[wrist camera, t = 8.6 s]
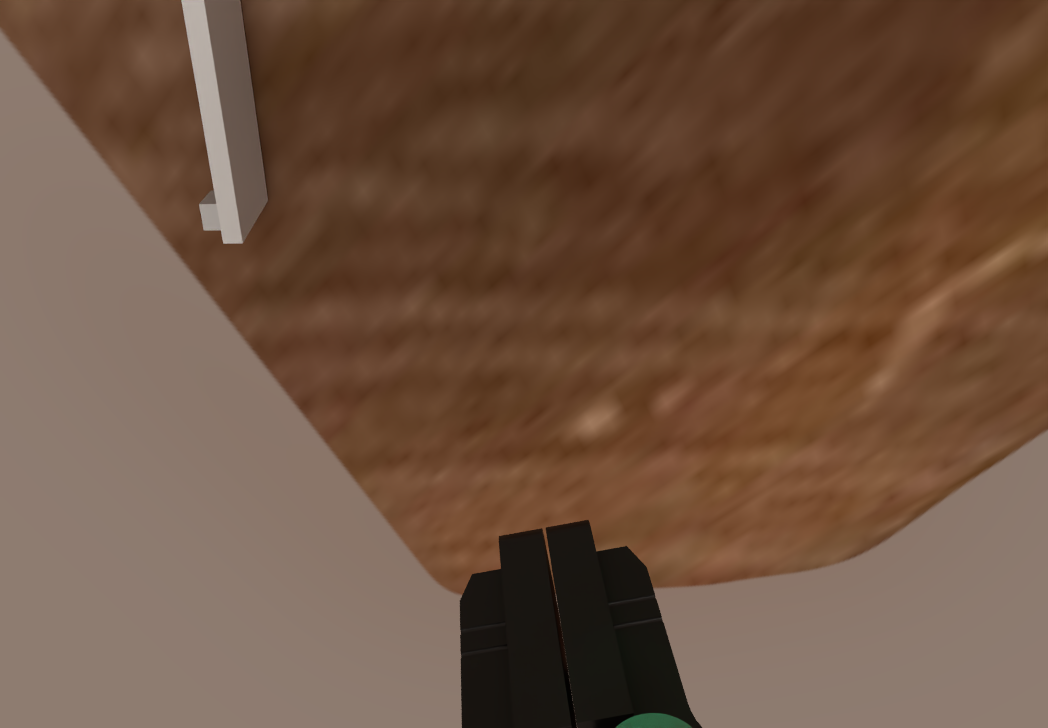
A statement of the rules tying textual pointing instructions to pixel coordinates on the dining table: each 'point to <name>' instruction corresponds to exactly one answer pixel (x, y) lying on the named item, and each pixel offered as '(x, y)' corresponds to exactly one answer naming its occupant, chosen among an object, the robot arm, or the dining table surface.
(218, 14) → the side door
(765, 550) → the dining table surface
